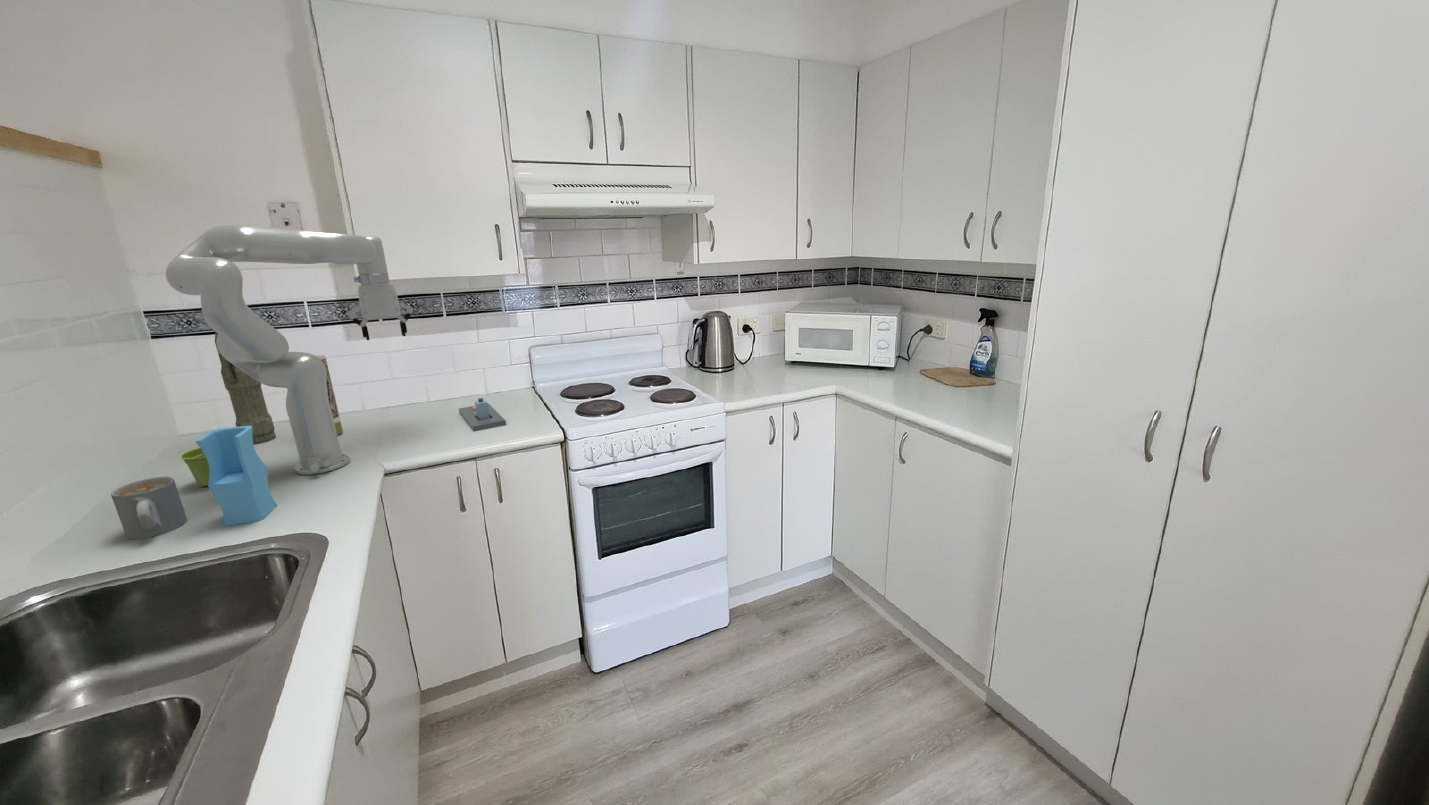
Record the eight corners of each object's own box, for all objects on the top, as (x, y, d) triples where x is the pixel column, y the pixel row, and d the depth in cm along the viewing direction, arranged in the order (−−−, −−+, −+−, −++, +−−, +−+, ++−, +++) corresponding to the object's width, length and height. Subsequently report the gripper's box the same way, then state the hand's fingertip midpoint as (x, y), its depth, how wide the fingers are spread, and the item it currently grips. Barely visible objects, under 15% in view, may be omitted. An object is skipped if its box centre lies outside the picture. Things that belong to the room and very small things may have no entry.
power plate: (506, 424, 188) (505, 418, 187) (473, 431, 183) (472, 424, 182) (489, 407, 207) (488, 401, 207) (459, 413, 202) (458, 406, 202)
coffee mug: (136, 523, 130) (122, 482, 127) (193, 512, 134) (180, 473, 131) (110, 551, 119) (93, 507, 116) (173, 538, 123) (158, 495, 120)
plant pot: (243, 479, 153) (234, 448, 150) (199, 493, 145) (188, 460, 142) (227, 472, 157) (218, 442, 155) (183, 486, 149) (173, 454, 147)
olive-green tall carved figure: (233, 448, 175) (199, 333, 165) (251, 435, 186) (220, 327, 176) (267, 444, 178) (236, 330, 168) (282, 432, 189) (254, 324, 178)
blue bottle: (490, 422, 191) (486, 399, 189) (480, 424, 189) (477, 401, 187) (487, 419, 194) (483, 396, 192) (477, 421, 193) (474, 398, 190)
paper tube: (340, 436, 183) (322, 358, 175) (315, 439, 180) (296, 361, 173) (345, 430, 189) (327, 354, 181) (320, 433, 186) (302, 356, 179)
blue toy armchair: (221, 526, 127) (194, 441, 121) (238, 510, 134) (213, 429, 129) (262, 520, 129) (238, 436, 123) (277, 505, 137) (255, 424, 131)
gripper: (340, 283, 164) (353, 343, 169) (408, 278, 173) (419, 335, 178) (340, 281, 170) (352, 339, 175) (405, 277, 179) (416, 332, 184)
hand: (386, 337), depth 176 cm, fingers open, 9 cm apart
